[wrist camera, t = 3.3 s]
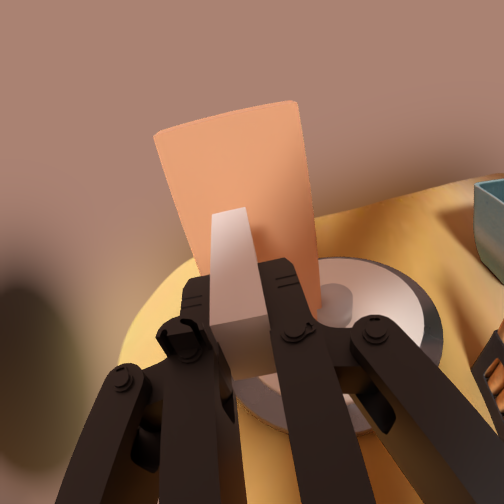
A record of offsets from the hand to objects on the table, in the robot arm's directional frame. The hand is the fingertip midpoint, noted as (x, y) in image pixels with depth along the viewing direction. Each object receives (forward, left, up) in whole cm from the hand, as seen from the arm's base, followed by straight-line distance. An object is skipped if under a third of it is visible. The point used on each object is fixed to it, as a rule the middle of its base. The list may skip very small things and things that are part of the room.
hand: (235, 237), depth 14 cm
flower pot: (-5, -27, -14) cm, 31 cm away
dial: (+2, -6, -12) cm, 14 cm away
